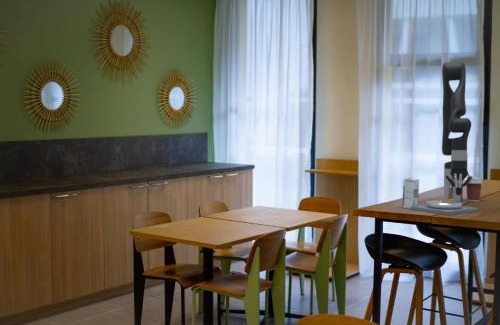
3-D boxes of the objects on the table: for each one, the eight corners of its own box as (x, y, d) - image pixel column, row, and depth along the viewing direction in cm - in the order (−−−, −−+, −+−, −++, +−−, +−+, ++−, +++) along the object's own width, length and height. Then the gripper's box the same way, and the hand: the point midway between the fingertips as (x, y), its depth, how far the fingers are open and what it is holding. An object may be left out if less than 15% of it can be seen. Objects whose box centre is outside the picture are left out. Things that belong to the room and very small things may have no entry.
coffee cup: (483, 201, 348) (484, 179, 347) (465, 201, 350) (466, 178, 349) (481, 199, 357) (481, 177, 356) (463, 199, 359) (464, 177, 358)
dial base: (438, 206, 329) (438, 202, 329) (477, 211, 312) (477, 207, 312) (409, 209, 316) (409, 206, 316) (449, 215, 298) (449, 211, 298)
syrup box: (407, 206, 326) (408, 177, 325) (418, 208, 322) (419, 178, 321) (402, 208, 322) (402, 178, 321) (413, 209, 318) (414, 179, 317)
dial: (456, 209, 303) (456, 190, 302) (421, 207, 311) (422, 188, 311) (467, 205, 319) (468, 186, 319) (435, 202, 328) (435, 184, 327)
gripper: (475, 159, 319) (474, 195, 320) (447, 158, 326) (447, 193, 327) (471, 160, 312) (470, 196, 313) (443, 159, 319) (442, 195, 320)
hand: (458, 195), depth 320 cm, fingers closed
